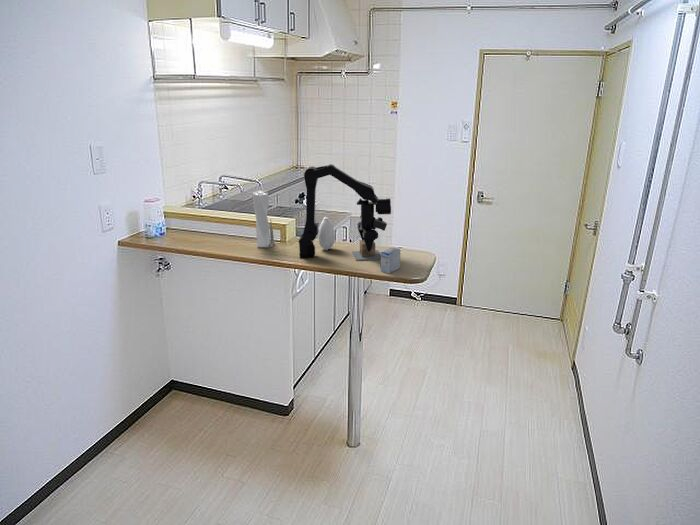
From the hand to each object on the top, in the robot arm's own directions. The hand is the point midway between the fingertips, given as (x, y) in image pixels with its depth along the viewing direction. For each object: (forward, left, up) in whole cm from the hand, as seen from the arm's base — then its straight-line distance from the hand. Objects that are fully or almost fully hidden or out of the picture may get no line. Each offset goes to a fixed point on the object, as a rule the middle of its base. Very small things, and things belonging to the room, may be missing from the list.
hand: (367, 248), depth 225 cm
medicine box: (+6, -20, -4) cm, 21 cm away
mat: (0, 0, -4) cm, 4 cm away
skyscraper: (-46, +24, -4) cm, 52 cm away
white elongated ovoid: (-17, +13, -4) cm, 22 cm away
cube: (0, 0, -3) cm, 3 cm away
